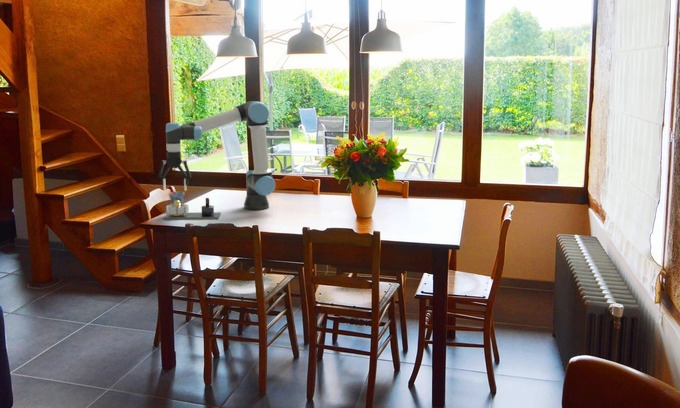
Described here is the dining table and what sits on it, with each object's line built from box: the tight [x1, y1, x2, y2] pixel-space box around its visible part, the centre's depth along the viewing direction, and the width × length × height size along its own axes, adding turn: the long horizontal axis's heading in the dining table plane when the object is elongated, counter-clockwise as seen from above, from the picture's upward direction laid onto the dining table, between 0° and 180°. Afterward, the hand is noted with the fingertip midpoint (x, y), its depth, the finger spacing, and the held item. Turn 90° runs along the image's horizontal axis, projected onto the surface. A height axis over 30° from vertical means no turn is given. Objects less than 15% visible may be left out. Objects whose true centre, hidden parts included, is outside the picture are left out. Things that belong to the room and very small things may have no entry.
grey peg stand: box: [163, 197, 222, 221], centre depth 382 cm, size 30×13×11 cm, turn 94°
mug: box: [167, 191, 186, 204], centre depth 401 cm, size 12×9×11 cm
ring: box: [165, 203, 190, 214], centre depth 382 cm, size 12×12×4 cm
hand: (175, 190), depth 376 cm, fingers open, 11 cm apart
